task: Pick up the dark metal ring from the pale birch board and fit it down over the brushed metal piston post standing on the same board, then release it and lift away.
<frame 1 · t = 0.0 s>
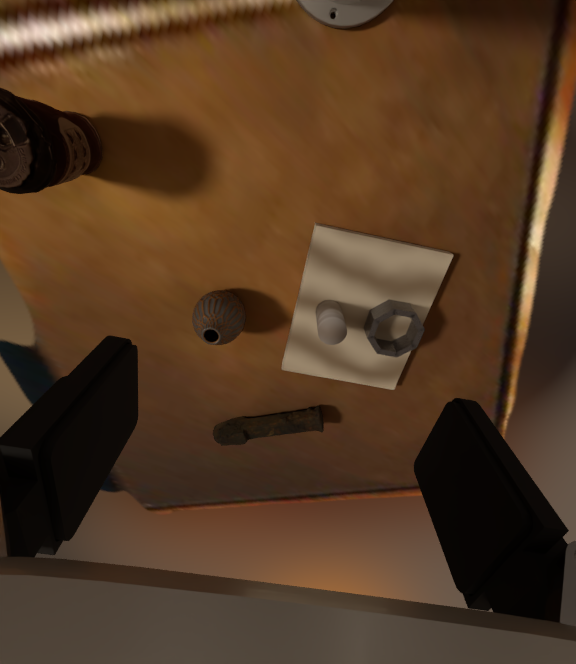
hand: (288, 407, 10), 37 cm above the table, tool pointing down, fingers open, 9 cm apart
coffee cup: (78, 144, 40), on the table
board: (357, 313, 49), on the table
ring: (390, 323, 48), point 1 cm above the table, touching board
hand tool: (268, 419, 60), on the table
vase: (224, 305, 49), on the table
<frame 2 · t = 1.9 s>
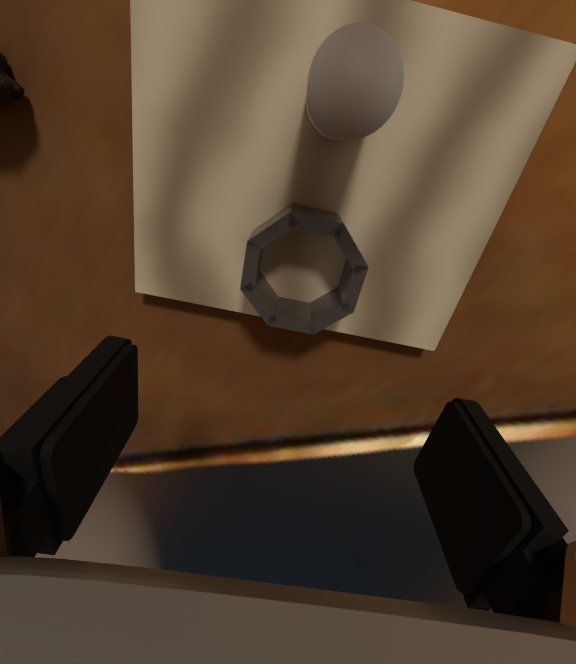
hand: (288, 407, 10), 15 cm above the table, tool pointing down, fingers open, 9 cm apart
board: (318, 187, 22), on the table
ring: (302, 262, 23), point 1 cm above the table, touching board
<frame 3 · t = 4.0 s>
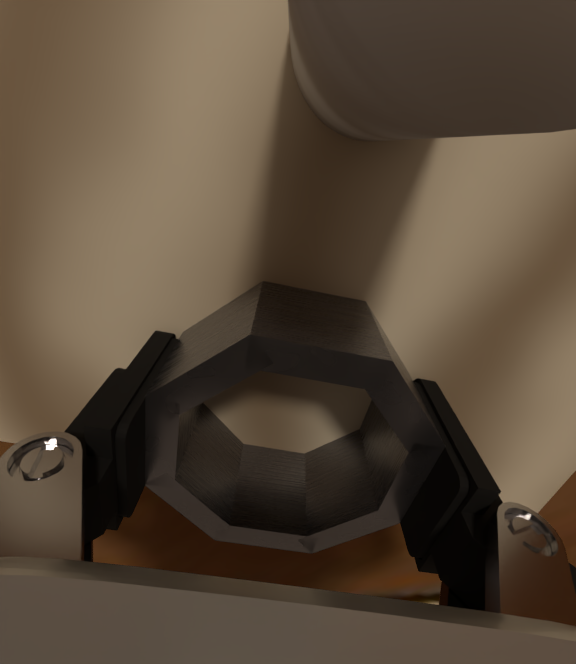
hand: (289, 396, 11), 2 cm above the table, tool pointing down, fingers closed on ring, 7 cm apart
board: (320, 241, 10), on the table
ring: (289, 390, 11), point 1 cm above the table, touching board, gripper
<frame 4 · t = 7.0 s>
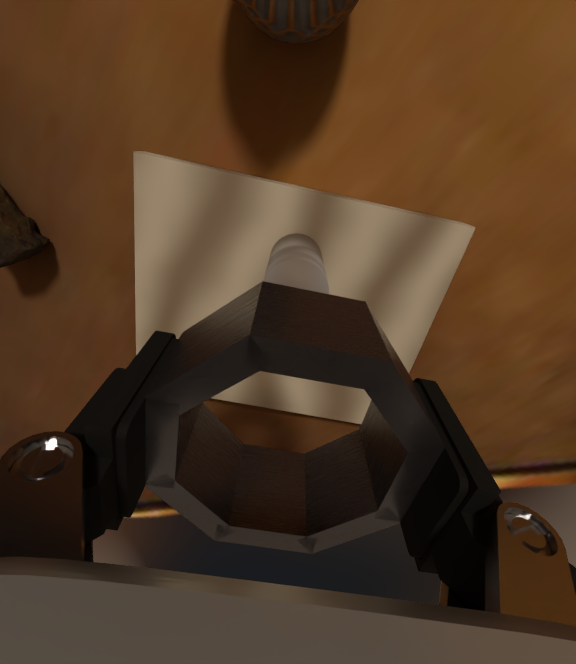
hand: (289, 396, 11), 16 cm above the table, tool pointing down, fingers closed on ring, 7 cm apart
board: (284, 308, 27), on the table
ring: (289, 390, 11), point 16 cm above the table, touching gripper
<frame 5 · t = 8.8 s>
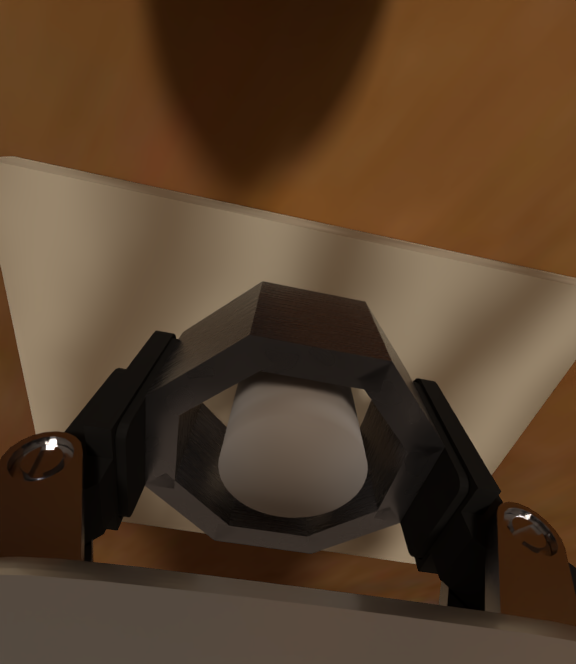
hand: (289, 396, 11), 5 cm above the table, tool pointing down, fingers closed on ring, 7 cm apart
board: (276, 405, 17), on the table
ring: (289, 390, 11), point 4 cm above the table, touching gripper
when the fingers open (4 cm above the table, at t = 10.0 s): ring drops 2 cm, resting on board.
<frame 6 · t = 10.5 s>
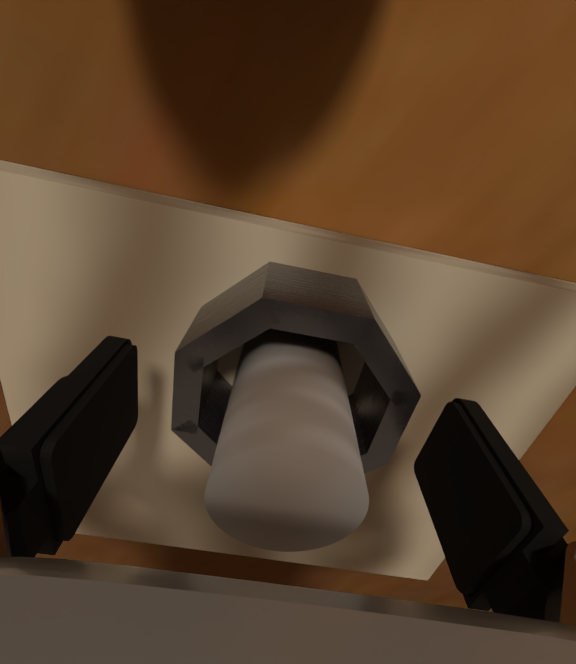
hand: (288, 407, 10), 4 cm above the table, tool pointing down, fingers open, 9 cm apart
board: (271, 417, 16), on the table
ring: (292, 358, 13), point 1 cm above the table, touching board
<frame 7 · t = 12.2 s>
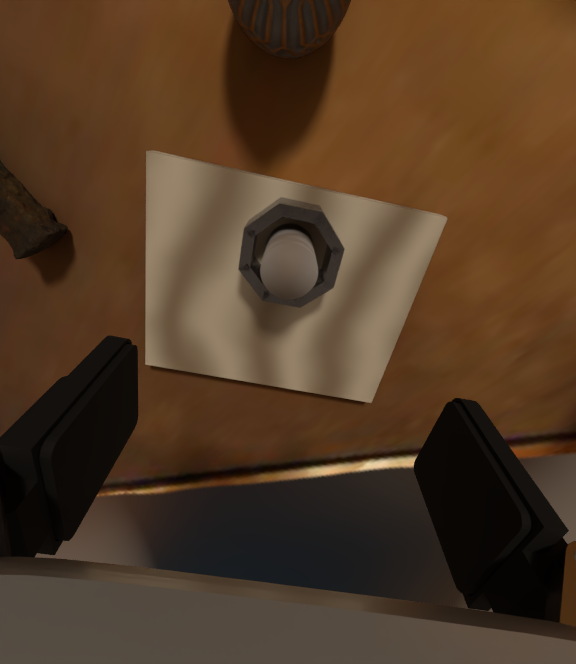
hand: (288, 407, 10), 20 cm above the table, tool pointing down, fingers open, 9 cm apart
board: (279, 292, 30), on the table
ring: (290, 248, 27), point 1 cm above the table, touching board
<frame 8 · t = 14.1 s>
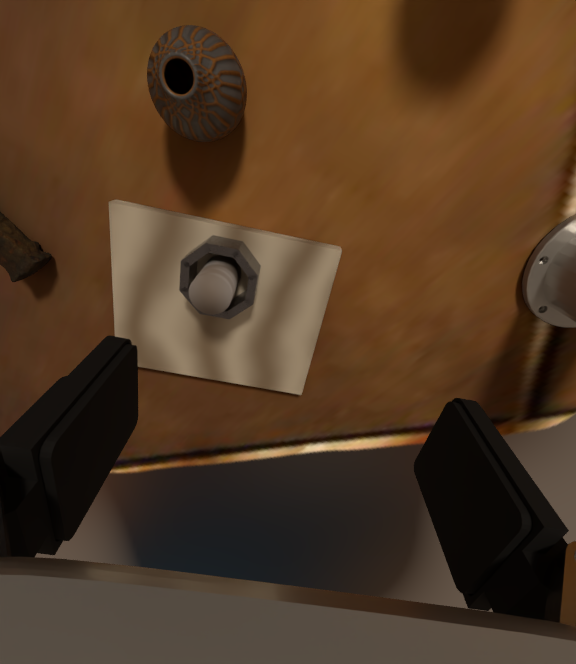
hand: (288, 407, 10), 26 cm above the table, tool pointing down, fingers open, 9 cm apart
board: (221, 306, 38), on the table
ring: (224, 272, 34), point 1 cm above the table, touching board
vase: (210, 95, 29), on the table
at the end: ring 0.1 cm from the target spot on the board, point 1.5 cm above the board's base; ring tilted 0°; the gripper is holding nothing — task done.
